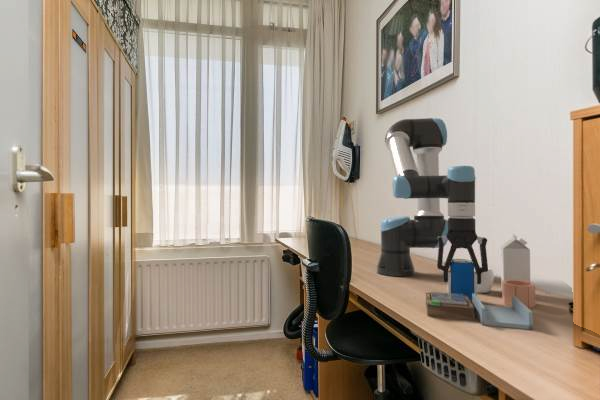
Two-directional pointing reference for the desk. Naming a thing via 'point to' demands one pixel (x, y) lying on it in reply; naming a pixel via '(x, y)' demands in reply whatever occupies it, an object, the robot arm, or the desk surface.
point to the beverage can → (462, 277)
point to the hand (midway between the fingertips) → (462, 293)
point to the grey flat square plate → (449, 298)
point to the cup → (518, 292)
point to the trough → (504, 314)
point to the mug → (485, 281)
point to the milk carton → (515, 260)
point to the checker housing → (449, 309)
